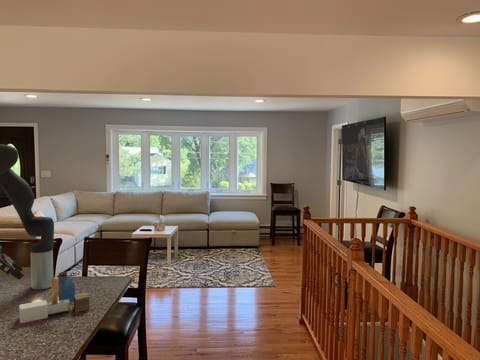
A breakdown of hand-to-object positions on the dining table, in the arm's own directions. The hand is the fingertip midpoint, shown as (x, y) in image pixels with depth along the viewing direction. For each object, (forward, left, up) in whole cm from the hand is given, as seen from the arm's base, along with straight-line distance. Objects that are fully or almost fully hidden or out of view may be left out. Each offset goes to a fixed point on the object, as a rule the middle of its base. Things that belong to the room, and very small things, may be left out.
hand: (21, 274), depth 135 cm
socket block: (0, +21, -18) cm, 27 cm away
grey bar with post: (0, +8, -17) cm, 19 cm away
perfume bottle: (-13, +16, -18) cm, 27 cm away
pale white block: (0, +4, -18) cm, 18 cm away
